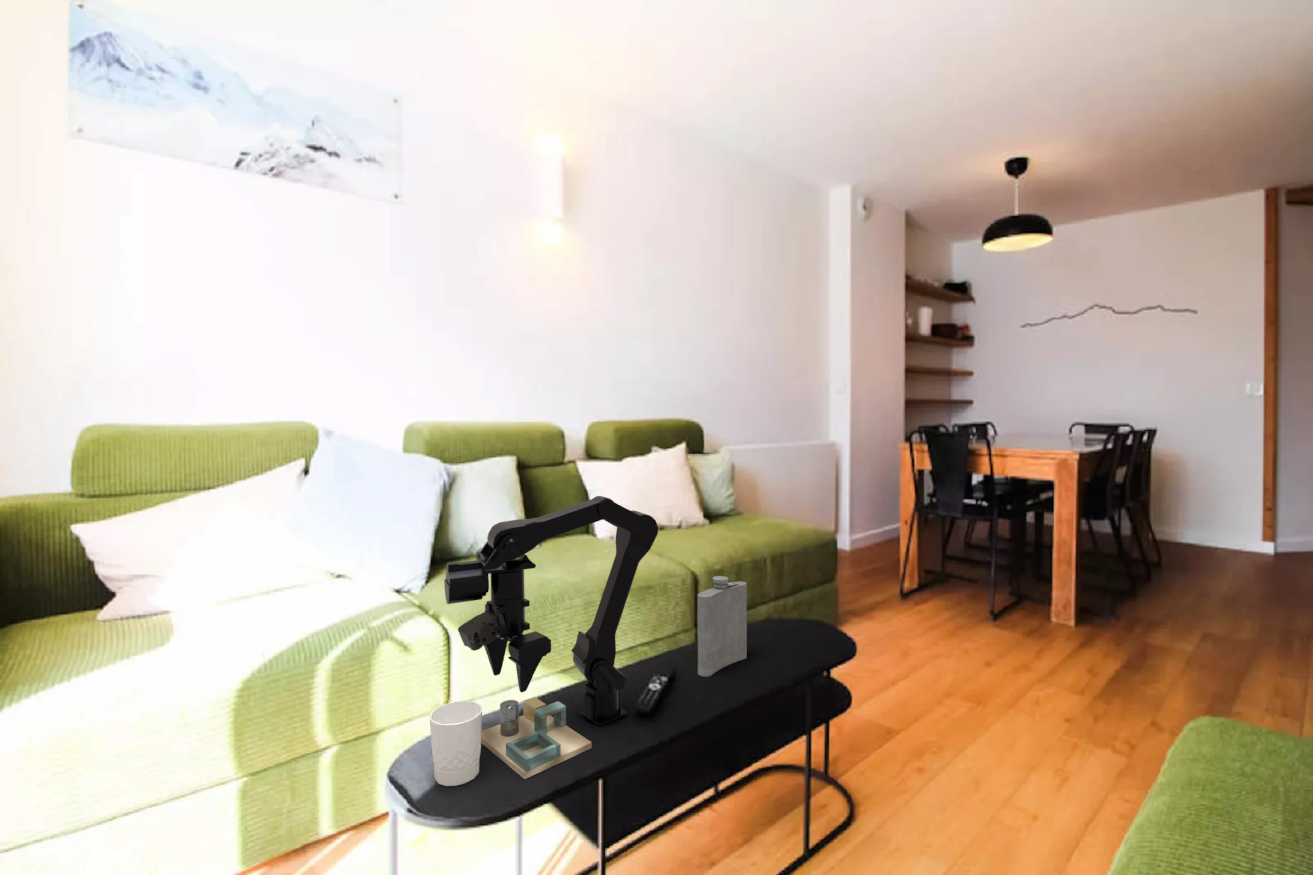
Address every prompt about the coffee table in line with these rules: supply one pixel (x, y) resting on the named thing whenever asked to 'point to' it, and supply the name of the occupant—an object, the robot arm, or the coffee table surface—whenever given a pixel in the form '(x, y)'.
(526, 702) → the tan wooden block
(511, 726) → the spigot peg
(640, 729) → the coffee table surface
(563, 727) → the dock board
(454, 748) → the white cup
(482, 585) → the robot arm
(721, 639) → the hip flask
